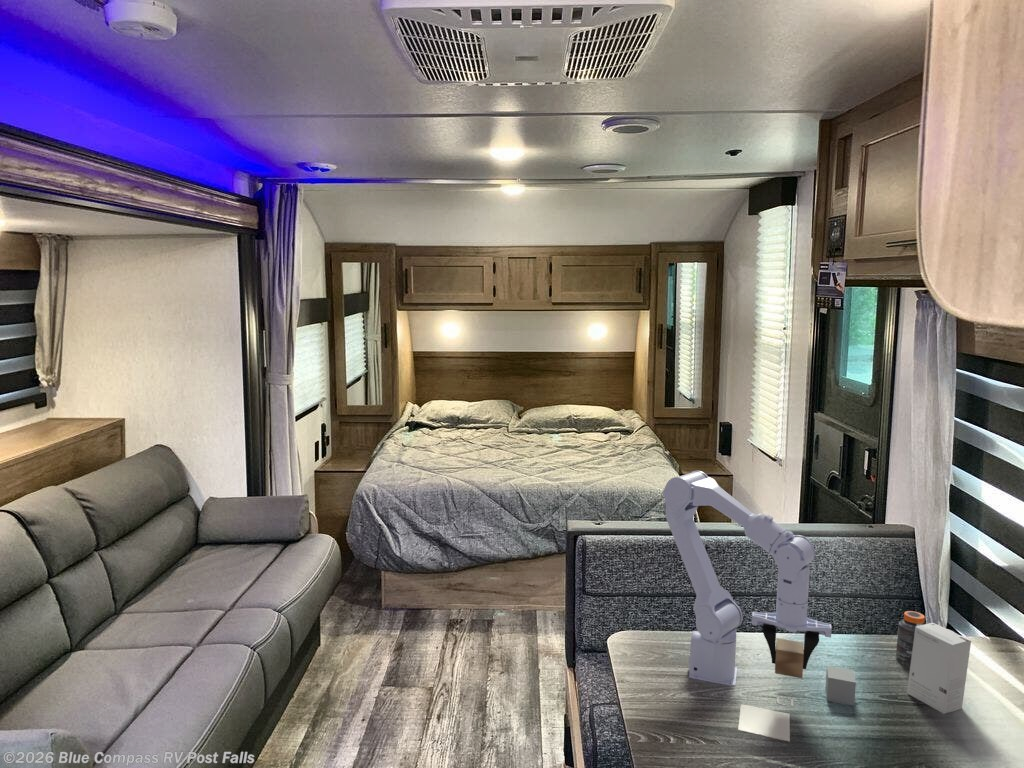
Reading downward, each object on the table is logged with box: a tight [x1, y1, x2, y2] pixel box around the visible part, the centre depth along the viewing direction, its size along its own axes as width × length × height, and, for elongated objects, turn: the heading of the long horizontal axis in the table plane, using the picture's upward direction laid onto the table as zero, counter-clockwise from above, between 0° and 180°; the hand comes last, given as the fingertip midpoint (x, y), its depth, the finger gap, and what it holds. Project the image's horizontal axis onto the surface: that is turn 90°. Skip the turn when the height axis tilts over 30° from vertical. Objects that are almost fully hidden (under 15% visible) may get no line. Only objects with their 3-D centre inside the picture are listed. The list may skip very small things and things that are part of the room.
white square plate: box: [737, 704, 791, 743], centre depth 132 cm, size 9×9×1 cm
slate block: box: [824, 665, 857, 707], centre depth 140 cm, size 5×5×5 cm
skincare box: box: [906, 622, 972, 715], centre depth 138 cm, size 8×6×15 cm
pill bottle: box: [895, 610, 926, 668], centre depth 154 cm, size 6×6×11 cm
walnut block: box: [774, 637, 804, 679], centre depth 137 cm, size 5×5×5 cm
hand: (788, 663), depth 137 cm, fingers closed on walnut block, 5 cm apart
